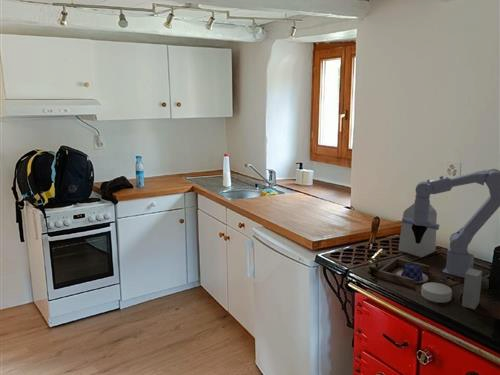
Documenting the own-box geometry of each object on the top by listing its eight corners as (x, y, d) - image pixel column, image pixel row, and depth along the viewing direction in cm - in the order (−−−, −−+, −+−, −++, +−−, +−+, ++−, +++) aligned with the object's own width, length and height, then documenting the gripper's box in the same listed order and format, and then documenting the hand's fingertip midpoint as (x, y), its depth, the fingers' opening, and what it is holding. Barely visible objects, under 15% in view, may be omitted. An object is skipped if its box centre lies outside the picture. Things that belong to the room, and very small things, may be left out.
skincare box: (465, 299, 151) (469, 267, 149) (479, 303, 148) (483, 270, 146) (461, 306, 146) (464, 273, 144) (475, 309, 144) (478, 276, 141)
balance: (378, 260, 187) (379, 246, 185) (387, 263, 184) (388, 248, 183) (364, 270, 177) (365, 254, 176) (374, 272, 174) (375, 257, 173)
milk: (412, 244, 207) (416, 191, 202) (435, 251, 198) (440, 196, 193) (398, 250, 200) (402, 195, 194) (421, 257, 191) (426, 200, 185)
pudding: (389, 275, 172) (390, 263, 171) (409, 269, 178) (410, 257, 177) (413, 287, 162) (415, 274, 161) (434, 280, 168) (436, 267, 167)
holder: (429, 272, 174) (429, 265, 174) (412, 287, 161) (413, 280, 160) (395, 263, 183) (396, 257, 183) (377, 277, 170) (377, 270, 169)
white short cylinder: (437, 305, 147) (438, 296, 147) (414, 293, 156) (415, 284, 155) (457, 299, 151) (458, 290, 151) (434, 288, 160) (435, 279, 160)
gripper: (400, 209, 177) (397, 241, 180) (436, 216, 168) (432, 249, 171) (406, 206, 182) (403, 237, 185) (442, 212, 173) (438, 244, 176)
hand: (418, 242), depth 178 cm, fingers closed
